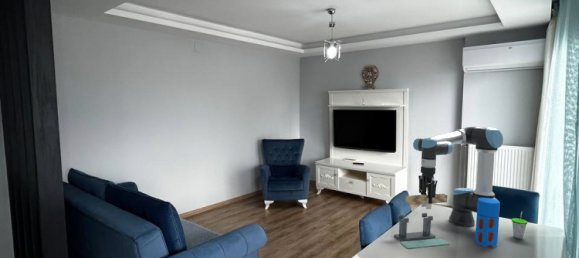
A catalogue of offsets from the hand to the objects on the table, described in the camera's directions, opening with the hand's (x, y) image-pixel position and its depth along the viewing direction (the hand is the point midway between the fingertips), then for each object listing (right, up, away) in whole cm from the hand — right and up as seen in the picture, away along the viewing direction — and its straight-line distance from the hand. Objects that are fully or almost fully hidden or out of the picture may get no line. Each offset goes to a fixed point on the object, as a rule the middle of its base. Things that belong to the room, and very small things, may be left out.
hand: (426, 207), depth 178 cm
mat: (0, -21, +2) cm, 21 cm away
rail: (0, +3, 0) cm, 3 cm away
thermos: (+35, -21, +3) cm, 42 cm away
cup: (+60, -21, +12) cm, 65 cm away
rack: (-2, -20, +11) cm, 23 cm away
